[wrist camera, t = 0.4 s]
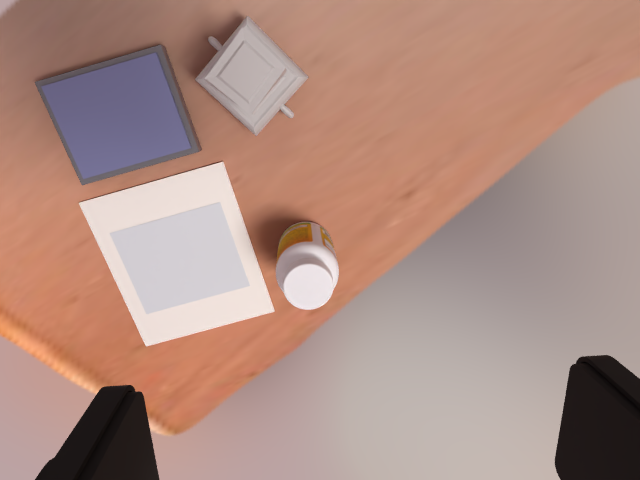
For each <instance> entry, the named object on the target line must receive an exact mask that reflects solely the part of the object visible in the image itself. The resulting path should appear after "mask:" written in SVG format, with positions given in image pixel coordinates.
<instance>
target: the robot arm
mask: <svg viewBox="0 0 640 480" xmlns="http://www.w3.org/2000/svg"><path fill="white" fill-rule="evenodd" d="M555 467H556V471H557V473H558V476H559V477H560V479H561V480H640V379H639V378H638V377H637V376H635V375H634V374H633V373H632V372H630V371H629V370H628V369H626V368H625V367H624V366H623V365H622V364H620V363H619V362H618V361H617V360H615V359H614V358H613V357H611V356H608V355H601V356H586V357H580V358H579V359H578V360H577V362H576V364H574V365H572V366H571V368H570V371H569V378H568V383H567V390H566V396H565V402H564V408H563V414H562V420H561V426H560V432H559V438H558V444H557V450H556V456H555ZM35 480H159V475H158V470H157V465H156V459H155V455H154V449H153V443H152V438H151V433H150V428H149V422H148V417H147V412H146V406H145V401H144V396H143V394H142V392H135V389H134V387H133V386H131V385H123V386H107V387H103V388H101V389H100V390H99V392H98V393H97V395H96V396H95V398H94V399H93V401H92V402H91V404H90V406H89V407H88V408H87V410H86V411H85V413H84V414H83V416H82V417H81V419H80V420H79V422H78V423H77V425H76V426H75V428H74V429H73V431H72V432H71V434H70V435H69V437H68V438H67V440H66V441H65V443H64V444H63V446H62V447H61V449H60V450H59V452H58V453H57V455H56V456H55V458H53V459H52V460H49V462H48V463H47V464H46V465H45V466H44V468H43V469H42V470H41V472H40V473H39V475H38V476H37V478H36V479H35Z"/></svg>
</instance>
